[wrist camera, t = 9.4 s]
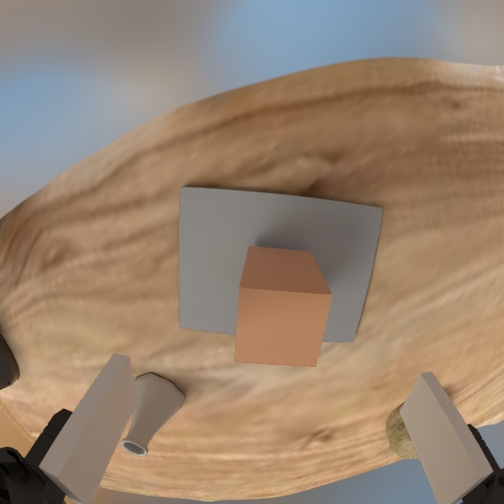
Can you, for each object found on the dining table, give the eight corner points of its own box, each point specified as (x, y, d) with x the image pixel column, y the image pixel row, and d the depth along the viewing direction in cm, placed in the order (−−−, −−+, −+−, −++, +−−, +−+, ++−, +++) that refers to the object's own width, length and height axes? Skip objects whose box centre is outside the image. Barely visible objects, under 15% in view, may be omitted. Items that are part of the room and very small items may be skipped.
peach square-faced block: (244, 301, 25) (234, 361, 17) (248, 245, 23) (239, 287, 15) (301, 306, 25) (315, 366, 17) (310, 251, 23) (332, 294, 15)
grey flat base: (182, 322, 28) (150, 385, 19) (184, 186, 24) (135, 197, 15) (350, 337, 28) (378, 401, 18) (379, 206, 24) (436, 230, 14)
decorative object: (384, 390, 35) (367, 450, 28) (446, 382, 28) (435, 450, 21) (400, 410, 37) (386, 462, 31) (453, 404, 30) (443, 461, 24)
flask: (148, 363, 30) (116, 421, 21) (195, 396, 32) (177, 457, 22) (125, 387, 32) (96, 439, 23) (167, 416, 33) (148, 470, 24)
